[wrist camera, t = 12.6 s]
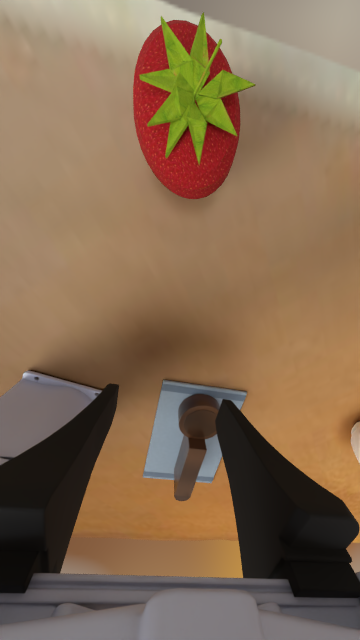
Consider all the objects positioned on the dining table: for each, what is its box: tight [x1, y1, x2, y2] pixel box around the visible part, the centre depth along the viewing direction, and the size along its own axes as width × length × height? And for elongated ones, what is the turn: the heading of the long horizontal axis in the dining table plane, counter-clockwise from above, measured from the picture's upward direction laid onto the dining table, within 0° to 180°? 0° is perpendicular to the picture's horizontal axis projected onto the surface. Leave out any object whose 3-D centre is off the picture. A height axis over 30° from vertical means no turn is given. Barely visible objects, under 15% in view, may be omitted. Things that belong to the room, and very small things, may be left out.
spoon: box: [174, 394, 220, 501], centre depth 25 cm, size 15×6×3 cm, turn 168°
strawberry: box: [133, 13, 256, 199], centre depth 11 cm, size 6×8×10 cm
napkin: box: [143, 380, 247, 483], centre depth 26 cm, size 11×18×1 cm, turn 168°
